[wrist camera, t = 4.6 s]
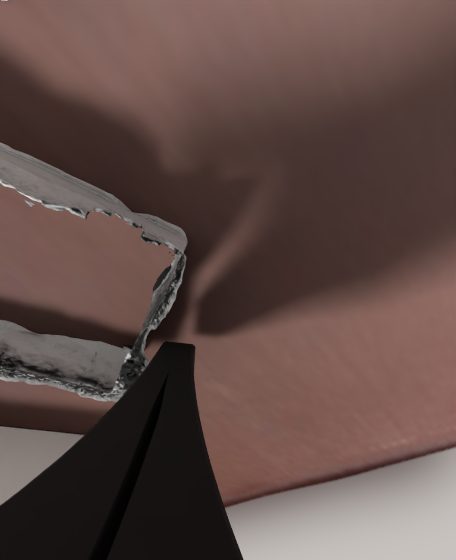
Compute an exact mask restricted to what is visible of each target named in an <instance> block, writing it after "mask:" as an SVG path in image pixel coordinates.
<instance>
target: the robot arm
mask: <svg viewBox="0 0 456 560" xmlns="http://www.w3.org/2000/svg"><path fill="white" fill-rule="evenodd" d="M194 361H195V346H194V345H193V344H185V343H176V342H167V341H165V342H164V343H163V344H162V345H161V347H160V349H159V350H158V352H157V353H156V354H155V356H154V357H153V359H152V360H151V361H150V363H149V364H148V365H147V367H146V368H145V369H144V371H143V372H142V373H141V374H140V376H139V377H138V378H137V379H136V381H135V382H134V383H133V384H132V386H131V387H130V388H129V389H128V390H127V391H126V392H125V394H124V395H123V396H122V397H121V398H120V399H119V400H118V401H117V403H116V404H115V405H114V406H113V407H112V408H111V409H110V410H109V411H108V412H107V413H106V414H105V415H104V416H103V417H102V418H101V419H100V420H99V421H98V422H97V423H96V424H95V425H94V426H93V427H92V428H91V429H90V430H89V431H88V432H87V433H86V434H85V435H84V436H83V437H82V438H81V439H80V440H79V441H77V442H76V443H75V444H74V445H73V446H72V447H71V448H70V449H69V450H68V451H66V452H65V453H64V454H63V455H62V456H61V457H60V458H58V459H57V460H56V461H55V462H54V463H53V464H51V465H50V466H49V467H48V468H47V469H45V470H44V471H43V472H42V473H40V474H39V475H38V476H37V477H36V478H34V479H33V480H32V481H31V482H29V483H28V484H27V485H26V486H25V487H23V488H22V489H21V490H20V491H18V492H17V493H16V494H14V495H13V496H12V497H11V498H9V499H8V500H7V501H5V502H4V503H3V504H1V505H0V560H243V557H242V554H241V552H240V549H239V547H238V544H237V541H236V539H235V536H234V533H233V530H232V528H231V525H230V522H229V519H228V516H227V514H226V511H225V508H224V505H223V502H222V499H221V496H220V493H219V489H218V486H217V483H216V479H215V476H214V473H213V470H212V466H211V463H210V459H209V455H208V452H207V448H206V444H205V440H204V436H203V431H202V427H201V422H200V417H199V411H198V406H197V399H196V392H195V383H194Z"/></svg>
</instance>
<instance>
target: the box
mask: <svg viewBox="0 0 456 560" xmlns="http://www.w3.org/2000/svg"><path fill="white" fill-rule="evenodd" d="M3 1H8V0H3ZM83 436H84V435H79V434H69V433H60V432H50V431H41V430H31V429H22V428H12V427H3V426H0V505H1V504H3V503H4V502H5V501H7V500H8V499H9V498H11V497H12V496H13V495H14V494H16V493H17V492H18V491H20V490H21V489H22V488H23V487H25V486H26V485H27V484H28V483H29V482H31V481H32V480H33V479H34V478H36V477H37V476H38V475H39V474H40V473H42V472H43V471H44V470H45V469H47V468H48V467H49V466H50V465H51V464H53V463H54V462H55V461H56V460H57V459H58V458H60V457H61V456H62V455H63V454H64V453H65V452H66V451H68V450H69V449H70V448H71V447H72V446H73V445H74V444H75V443H76V442H77V441H79V440H80V439H81V438H82V437H83Z"/></svg>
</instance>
